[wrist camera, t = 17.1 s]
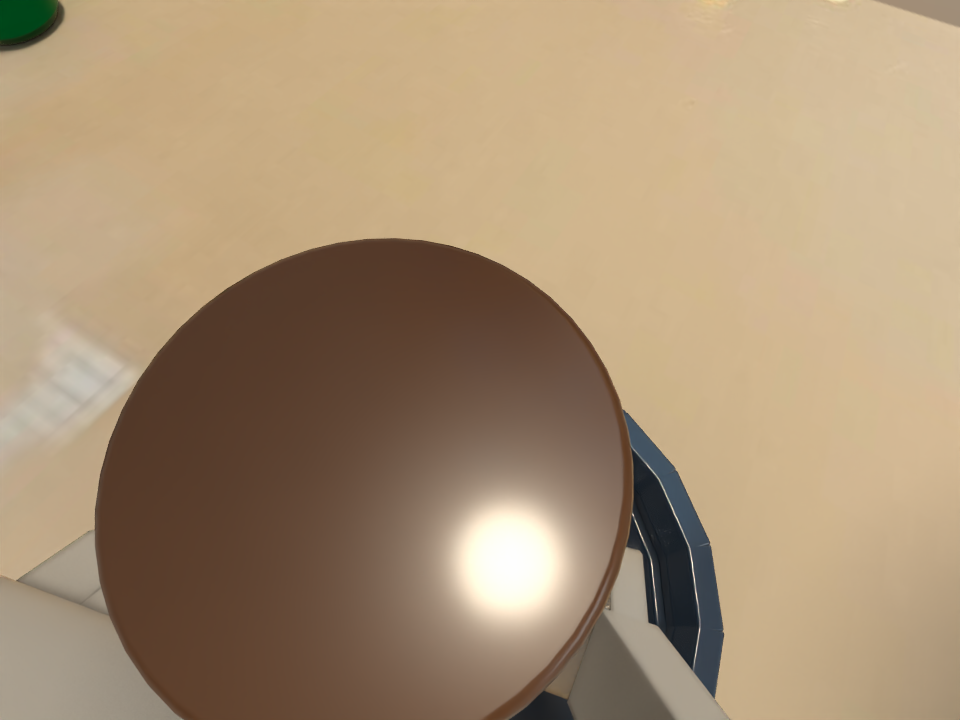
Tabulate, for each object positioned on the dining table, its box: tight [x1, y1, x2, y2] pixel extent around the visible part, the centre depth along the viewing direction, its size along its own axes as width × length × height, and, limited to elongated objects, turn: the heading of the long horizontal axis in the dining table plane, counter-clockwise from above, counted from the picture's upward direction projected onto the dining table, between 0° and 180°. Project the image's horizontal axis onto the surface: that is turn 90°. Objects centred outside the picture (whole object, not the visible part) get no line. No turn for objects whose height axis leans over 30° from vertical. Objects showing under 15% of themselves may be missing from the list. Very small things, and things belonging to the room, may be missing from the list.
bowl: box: [509, 410, 724, 720], centre depth 16 cm, size 12×12×6 cm
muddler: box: [95, 238, 634, 720], centre depth 10 cm, size 4×4×16 cm
